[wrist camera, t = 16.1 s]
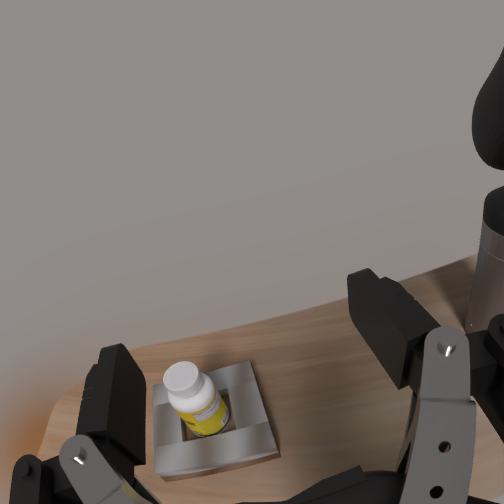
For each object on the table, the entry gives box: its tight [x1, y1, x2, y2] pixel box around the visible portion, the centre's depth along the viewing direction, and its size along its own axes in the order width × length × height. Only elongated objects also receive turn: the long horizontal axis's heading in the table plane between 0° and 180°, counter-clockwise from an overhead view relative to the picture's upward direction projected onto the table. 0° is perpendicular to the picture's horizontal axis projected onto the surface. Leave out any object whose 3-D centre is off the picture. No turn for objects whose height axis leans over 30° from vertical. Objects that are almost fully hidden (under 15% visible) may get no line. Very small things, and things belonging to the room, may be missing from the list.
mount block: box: [153, 360, 280, 482], centre depth 35 cm, size 14×14×3 cm
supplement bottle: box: [163, 361, 230, 438], centre depth 33 cm, size 5×5×10 cm
